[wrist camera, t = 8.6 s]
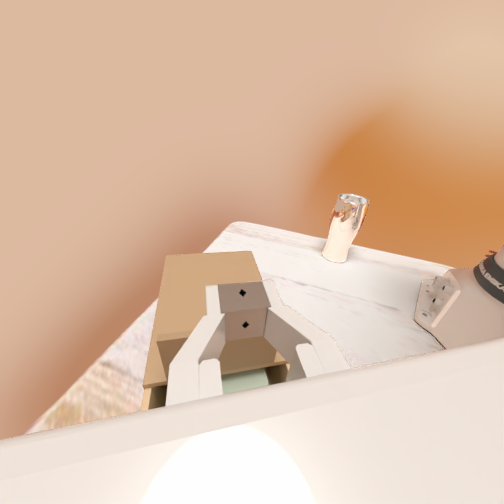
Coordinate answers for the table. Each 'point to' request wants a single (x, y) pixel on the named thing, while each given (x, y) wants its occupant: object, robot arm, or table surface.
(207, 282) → the mailer lid
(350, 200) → the beer glass
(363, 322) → the table surface
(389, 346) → the table surface
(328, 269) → the table surface
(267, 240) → the table surface
